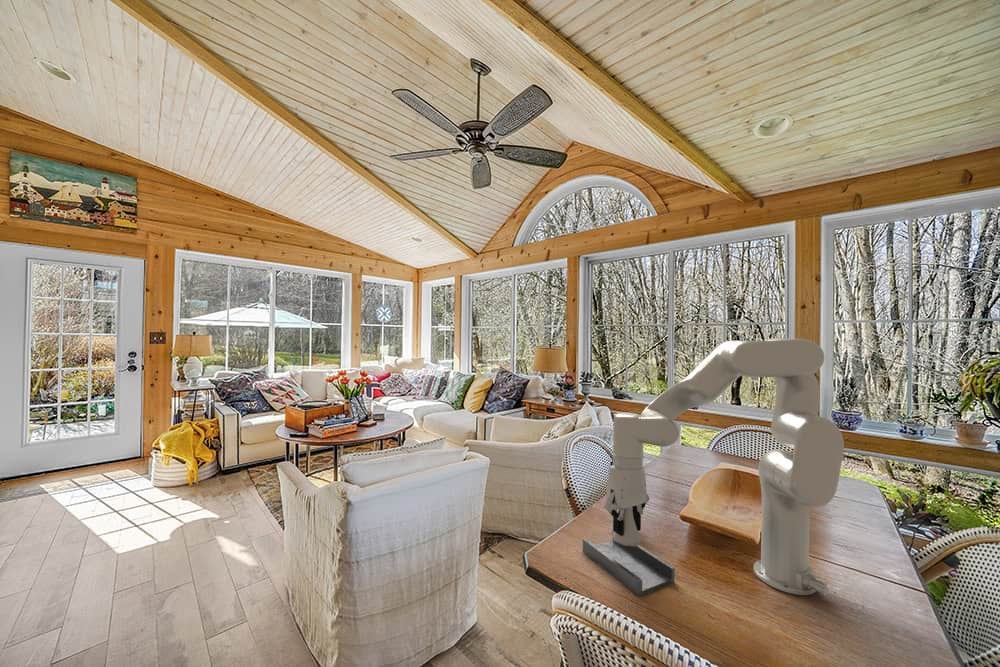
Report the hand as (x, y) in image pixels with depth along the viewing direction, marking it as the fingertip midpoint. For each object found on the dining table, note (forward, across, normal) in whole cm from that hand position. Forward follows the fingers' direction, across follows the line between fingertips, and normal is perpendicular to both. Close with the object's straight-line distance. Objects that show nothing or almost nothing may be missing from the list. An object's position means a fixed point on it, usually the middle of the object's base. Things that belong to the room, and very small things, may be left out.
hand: (626, 530), depth 100 cm
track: (+9, 0, 0) cm, 9 cm away
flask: (+3, 0, 0) cm, 3 cm away
